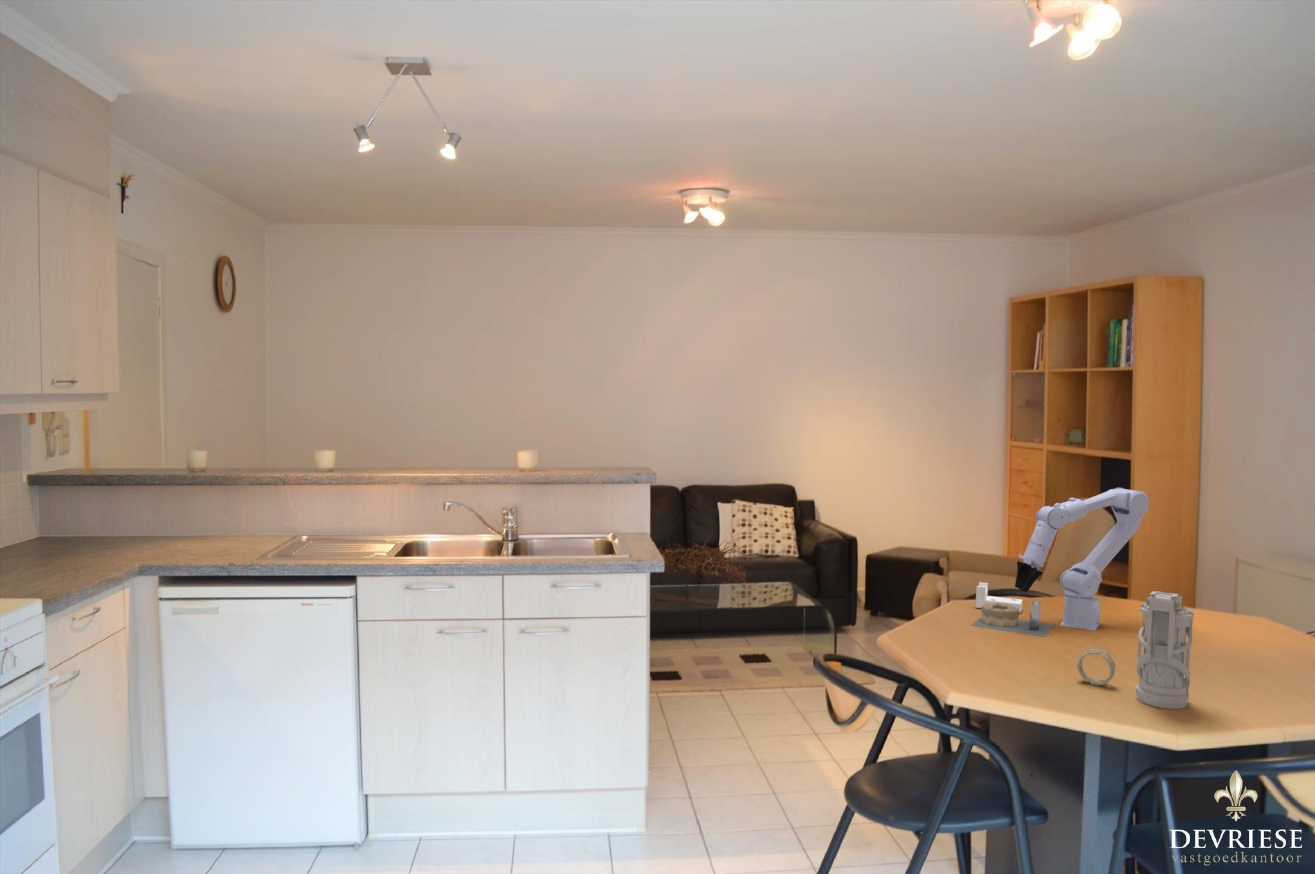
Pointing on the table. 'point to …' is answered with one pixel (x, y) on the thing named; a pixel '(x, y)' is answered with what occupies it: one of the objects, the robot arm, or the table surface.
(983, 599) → the bracket
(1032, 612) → the peg
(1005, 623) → the ring
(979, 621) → the mat
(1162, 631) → the lantern
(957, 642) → the table surface
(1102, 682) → the bracelet
